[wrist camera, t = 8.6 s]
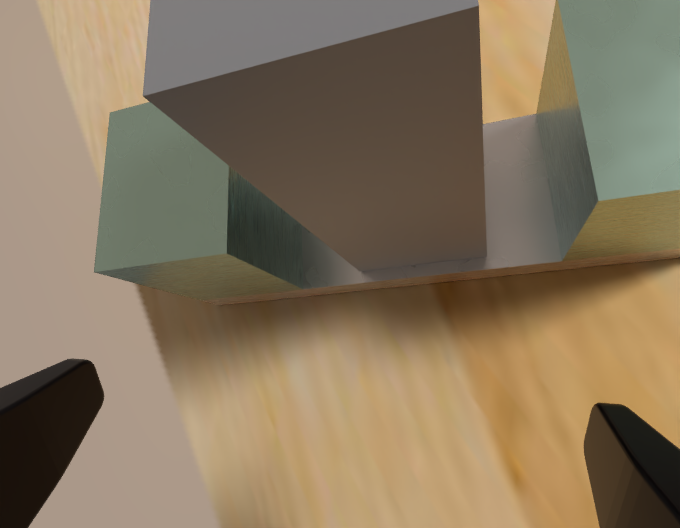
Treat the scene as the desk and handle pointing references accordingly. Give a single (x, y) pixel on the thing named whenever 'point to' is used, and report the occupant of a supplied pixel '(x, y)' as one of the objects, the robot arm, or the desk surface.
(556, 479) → the desk surface
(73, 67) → the desk surface
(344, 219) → the block
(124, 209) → the rail
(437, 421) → the desk surface
